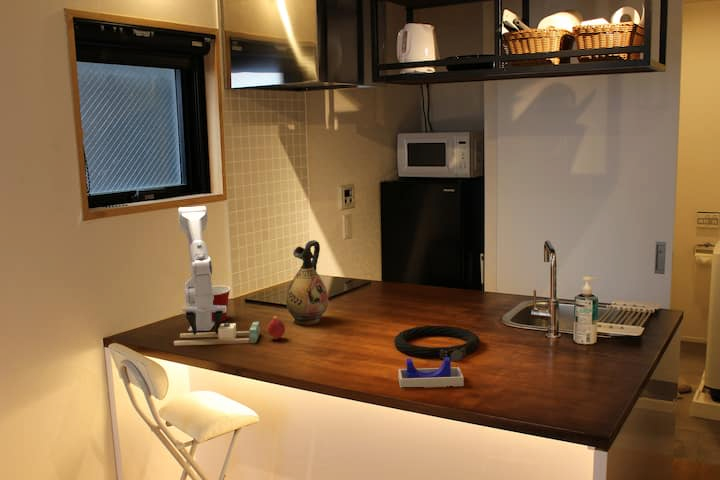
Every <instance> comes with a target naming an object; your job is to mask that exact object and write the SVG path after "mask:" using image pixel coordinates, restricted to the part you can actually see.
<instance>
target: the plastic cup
mask: <svg viewBox="0 0 720 480" xmlns="http://www.w3.org/2000/svg"><path fill="white" fill-rule="evenodd" d="M212 287H213V293H214V300H213V305H219V306H226V309H227V311H226V313H223V315H222V318H221V321H220V322H222V321H223V322H224V321H225V320H226V319H227V312H228V305H229V298H230V297H229V296H230V291H231V289H232V288H231V287H230V286H228V285H212ZM215 313H216V312H212V322H215V319H214V314H215Z"/></svg>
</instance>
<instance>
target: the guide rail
mask: <svg viewBox="0 0 720 480" xmlns="http://www.w3.org/2000/svg"><path fill="white" fill-rule="evenodd" d="M260 332H261V331H260V321H253V322H252V324H251V326H250V328H249V330H241V331H239V330H238V331H237V330H236V335H237V336H236V337H240V338H235V339H219V334H216V333H215V331H214V332H213V331H212V332H211V331H209V332H206V331H205V332H197V333H196V334H193V332H182V333H180V334H179V339H180V340H174V341H173V345H174V346H200V345H203V346H205V345H206V346H207V345H231V344H232V345H233V344H256V343H257V341H258V339H259V336H260V335H261V334H260ZM216 337H217V338H216ZM241 337H245V338H241ZM246 337H247V338H246ZM191 338H195V339H191ZM196 338H210V339H196ZM211 338H216V339H211ZM181 339H182V340H181ZM183 339H185V340H183ZM186 339H188V340H186ZM189 339H190V340H189Z"/></svg>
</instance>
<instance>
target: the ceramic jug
mask: <svg viewBox="0 0 720 480" xmlns="http://www.w3.org/2000/svg"><path fill="white" fill-rule="evenodd" d="M312 247H313V251H312V249H311V248H312ZM320 248H321V246H320V243H319V241H317V240H314V239H313V240H308V242H306V244H305V247H302V246H299V245H298V246H297V247H295V249H294V250H293V256H294V258H297V259H300V260H302V265H301V266H300V268H299V270H298V272H297V273H296V274H295V276H294V277H293V279H292V281H291V282H290V285H289V287H288V289H287V293H286V299H285V302H286V308H287V311H288V312H289V314H290V315H291V316H292V318H293V319H294V323H295V324H297V325H306V326H307V325H314V324H318V323H319V322H320V320H321V318H322V316H323V315H324V313H325V312H326V310H327V309H328V307H329V293H328V291H327V287H326V284H325V283H324V281H323V279H322V278H321V276H320V275H319V274H318V272H317V264H318V261H319V260H318V259H319V258H320V257H319V256H320V252H321V251H320V250H321V249H320Z"/></svg>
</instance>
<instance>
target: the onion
mask: <svg viewBox="0 0 720 480" xmlns="http://www.w3.org/2000/svg"><path fill="white" fill-rule="evenodd" d="M285 327H286V326H285V324H284V323H283V321H282V320H281V319H279V318H278V317H277V316H273V319H272V320H271V321H270V322H269V323H268V326H267V333H268V334H269V336H271V337H272V338H273V340H276V341H277V340H278V339H280V338H281V337H283V336H284V334H285V333H286V328H285Z"/></svg>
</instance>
